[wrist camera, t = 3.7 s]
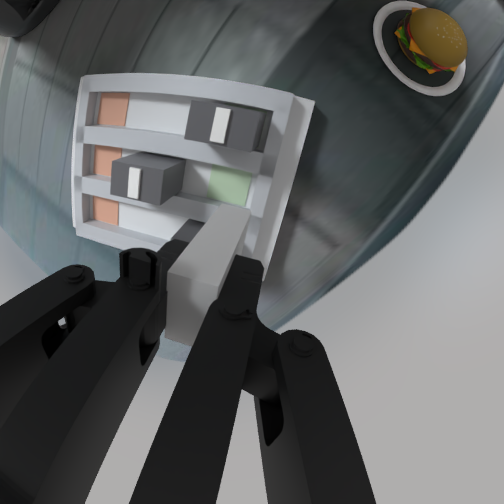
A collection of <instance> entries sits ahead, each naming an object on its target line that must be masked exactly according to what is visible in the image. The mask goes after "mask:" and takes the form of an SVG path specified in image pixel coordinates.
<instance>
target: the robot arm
mask: <svg viewBox="0 0 504 504" xmlns="http://www.w3.org/2000/svg"><path fill="white" fill-rule="evenodd" d="M58 1H59V0H0V35H1V36H4V37H20V36H23V35H25V34H26V33H28V32H29V31H31V30H32V29H33V28H34V27H36V26H37V25H38V24H39V23H40V22H41V21H42V20H43V19H44V18H45V17H46V16H47V15H48V13H49V12H50V11H51V10H52V9H53V8H54V6H55V5H56V4H57V2H58ZM251 212H252V211H250V210H246V209H243V208H239V207H235V206H231V205H227V204H223V203H222V204H221V205H220V206H219V207H218V209H217V210H216V211H215V212H214V214H213V215H212V216H211V217H210V218H209V220H208V221H207V222H206V223H205V225H204V226H203V227H202V228H201V229H200V231H199V232H198V233H197V234H196V236H195V237H194V238H193V240H192V241H191V242H190V243H189V242H186V241H182V240H178V239H173V240H171V241H169V242H166V243H165V244H164V245H163V246H162V247H161V248H160V250H158V251H157V252H155V251H153V250H150V249H147V248H130V249H126V250H124V251H122V252H121V253H119V258H120V278H119V279H118V280H117V281H116V282H107V281H98V280H95V277H94V272H93V271H92V269H91V268H89V267H87V266H85V265H78V264H77V265H70V266H67V267H65V268H62V269H61V270H59V271H57V272H55V273H54V274H52V275H50V276H48V277H47V278H45V279H43V280H41V281H40V282H38V283H37V284H35V285H33V286H31V287H30V288H28V289H26V290H25V291H23V292H22V293H20V294H18V295H17V296H15V297H14V298H12V299H10V300H9V301H7V302H6V303H4V304H3V305H1V306H0V504H85V501H86V499H87V497H88V494H89V492H90V490H91V487H92V485H93V483H94V480H95V478H96V476H97V474H98V471H99V469H100V467H101V465H102V462H103V460H104V458H105V456H106V453H107V452H108V449H109V447H110V445H111V443H112V441H113V439H114V437H115V435H116V432H117V430H118V428H119V426H120V424H121V422H122V420H123V418H124V416H125V414H126V412H127V409H128V408H129V406H130V404H131V401H132V400H133V398H134V396H135V394H136V392H137V390H138V388H139V386H140V384H141V382H142V380H143V378H144V376H145V374H146V372H147V370H148V368H149V366H150V364H151V362H152V360H153V358H154V356H155V355H156V353H157V351H158V349H159V345H160V335H161V333H162V332H163V330H164V328H165V338H168V339H171V340H174V341H177V342H180V343H183V344H186V345H189V346H192V348H191V351H190V353H189V355H188V358H187V360H186V362H185V365H184V367H183V370H182V372H181V375H180V377H179V379H178V382H177V384H176V386H175V389H174V391H173V394H172V396H171V399H170V401H169V403H168V406H167V408H166V411H165V413H164V416H163V418H162V421H161V423H160V426H159V428H158V431H157V433H156V435H155V438H154V441H153V443H152V445H151V448H150V451H149V453H148V456H147V458H146V461H145V463H144V466H143V469H142V471H141V474H140V476H139V479H138V481H137V484H136V486H135V489H134V492H133V494H132V497H131V500H130V502H129V504H216V500H217V496H218V492H219V488H220V483H221V479H222V475H223V471H224V466H225V462H226V457H227V453H228V449H229V444H230V440H231V435H232V430H233V426H234V422H235V417H236V413H237V408H238V403H239V398H240V394H241V390H242V389H243V390H245V391H247V392H248V393H250V394H252V395H254V402H255V410H256V419H257V426H258V434H259V442H260V449H261V457H262V464H263V471H264V478H265V486H266V493H267V500H268V504H376V501H375V498H374V495H373V491H372V488H371V484H370V481H369V478H368V475H367V471H366V468H365V465H364V462H363V459H362V455H361V452H360V449H359V446H358V443H357V440H356V437H355V434H354V431H353V428H352V425H351V422H350V419H349V416H348V413H347V410H346V407H345V404H344V402H343V399H342V396H341V393H340V390H339V387H338V385H337V382H336V379H335V376H334V374H333V371H332V368H331V365H330V362H329V360H328V357H327V354H326V352H325V349H324V347H323V345H322V343H321V342H320V340H318V339H317V338H316V337H315V336H314V335H312V334H310V333H308V332H306V331H302V330H297V329H296V330H288V331H286V332H284V333H282V334H281V335H280V334H278V333H276V332H274V331H272V330H270V329H269V328H267V327H266V326H265V325H264V324H262V323H261V321H260V320H259V318H258V316H257V313H256V309H257V304H258V299H259V294H260V289H261V283H262V278H263V273H264V267H263V265H262V263H261V261H259V260H256V259H252V258H248V257H244V256H241V254H242V249H243V245H244V241H245V237H246V233H247V229H248V224H249V220H250V216H251ZM63 317H64V318H65V322H66V324H64V325H61V326H60V325H59V324H58V321H59V320H60V319H62V318H63Z"/></svg>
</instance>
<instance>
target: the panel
mask: <svg viewBox="0 0 504 504" xmlns="http://www.w3.org/2000/svg"><path fill="white" fill-rule="evenodd" d="M191 100H196V101H203V102H210V103H216V104H222V105H228V106H234V107H239V108H244V109H249V110H254V111H258V112H262V113H265V114H266V117H265V121H264V126H263V130H262V134H261V138H260V142H259V146H258V147H257V148H256V149H254V150H253V151H252V152H251V153H250V152H246V151H241V150H237V149H232V148H228V147H223V146H218V145H213V144H208V143H202V142H197V141H191V140H186V139H184V136H185V131H186V125H187V120H188V115H189V110H190V105H191ZM314 104H315V101H312V100H309V99H305V98H301V97H298V96H294V94H293V93H289V92H285V91H281V90H276V89H272V88H267V87H263V86H258V85H253V84H247V83H242V82H236V81H230V80H223V79H216V78H208V77H199V76H188V75H176V74H157V73H114V74H95V75H84V77H81V80H80V85H79V91H78V98H77V105H76V113H75V122H74V133H73V147H72V215H73V227H76V235H78V236H82V237H85V238H88V239H91V240H94V241H97V242H100V243H103V244H106V245H109V246H112V247H116V248H119V249H122V250H126V249H130V248H147V249H150V250H153V251H155V252H157V251H158V250H160V248H161V247H162V246H163V245H164V244H165V243H166V242H169V241H171V238H172V237H173V235H174V234H175V233H176V232H177V231H178V230H179V229H180V228H181V227H182V226H183V225H184V223H185V222H186V221H187V220H188V219H193V220H197V221H201V222H205V223H206V222H207V221H208V220H209V218H210V217H211V216H212V215H213V214H214V212H215V211H216V210H217V209H218V207H219V206H220V205H221V204H222V203H223V204H227V205H231V206H235V207H239V208H243V209H246V210H250V211H252V212H251V216H250V220H249V224H248V229H247V233H246V237H245V241H244V245H243V249H242V254H241V256H244V257H248V258H252V259H256V260H259V261H261V263H262V265H263V267H264V273H263V278H262V281H264V279H265V276H266V273H267V269H268V266H269V263H270V260H271V256H272V253H273V249H274V246H275V243H276V239H277V236H278V233H279V229H280V226H281V222H282V219H283V216H284V212H285V209H286V205H287V202H288V198H289V195H290V191H291V188H292V184H293V181H294V177H295V174H296V170H297V166H298V163H299V159H300V156H301V152H302V148H303V145H304V141H305V137H306V134H307V130H308V126H309V123H310V119H311V115H312V111H313V108H314ZM138 152H145V153H151V154H157V155H163V156H169V157H174V158H180V159H185V160H186V165H185V171H184V178H183V185H182V190H181V191H179V192H178V193H177V194H175V195H174V196H173V197H171V198H170V199H168V200H167V201H166V202H164V203H163V204H162V205H160V206H158V205H154V204H149V203H145V202H141V201H137V200H132V199H128V198H124V197H119V196H115V195H110V186H111V168H112V161H113V160H116V159H119V158H122V157H125V156H128V155H132V154H135V153H138Z"/></svg>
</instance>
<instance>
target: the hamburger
mask: <svg viewBox="0 0 504 504" xmlns="http://www.w3.org/2000/svg"><path fill="white" fill-rule="evenodd" d="M398 10H412V12H411V13H410V14H409V13H406V17H405V18H403V19H402V20H400V22H399V24H398V29H397V31H396V32H395V33H394V34H396V35H397V37H398V42H399V45H400V47H401V49H402V51H403V52H404V54H405V55H406V56H407V57H408V59H409V60H410V61H412V62H413V63H414V64H416V65H417V66H419V67H420V68H422V69H426V70H427V71H428V73H429V74H432V73H434V72H438V71H442V70H443V71H453V72H455V73H454V75H453V77H452V78H451V80H450V81H449V82H447V83H446V84H445V85H442V86H439V87H428V86H424V85H421V84H418V83H416V82H414V81H412V80H411V79H409V78H408V77H407V76H405V75H404V74H403V73H402V72H401V71H400V70H399V69H398V68H397V67H396V66H395V65H394V63H393V62H392V61H391V59H390V58H389V56H388V54H387V52H386V50H385V48H384V45H383V41H382V26H383V23H384V21H385V19H386V17H387V16H388V15H389V14H391V13H393V12H395V11H398ZM373 36H374V40H375V45H376V47H377V49H378V52H379V54H380V56H381V58H382V59H383V61H384V63H385V64H386V65H387V67H388V68H389V69H390V70H391V72H392V73H393V74H394V75H395V76H396V77H397V78H398V79H399V80H400V81H402V82H403V83H404V84H406V85H407V86H408V87H410V88H412V89H414V90H416V91H418V92H420V93H423V94H426V95H430V96H444V95H447V94H450V93H452V92H453V91H455V90H456V89H457V88H458V87H459V85H460V84H461V83H462V80H463V78H464V75H465V69H466V64H465V58H466V56H467V51H468V47H467V41H466V37H465V35H464V33H463V31H462V29H461V27H460V26H459V25H458V24H457V22H456V21H455V20H454V19H453V18H451V17H450V16H449V15H447V14H446V13H444V12H442V11H440V10H437V9H433V8H427V7H425V6H423V5H421V4H418V3H415V2H410V1H395V2H390V3H388V4H386V5H384V6H383V7H382V8H381V9H380V10H379V11H378V13H377V15H376V16H375V19H374V23H373Z"/></svg>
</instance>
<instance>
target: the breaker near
mask: <svg viewBox="0 0 504 504" xmlns="http://www.w3.org/2000/svg"><path fill="white" fill-rule="evenodd" d="M265 117H266V114H265V113H262V112H258V111H254V110H249V109H244V108H239V107H234V106H228V105H222V104H216V103H210V102H203V101H196V100H191V105H190V110H189V115H188V120H187V125H186V131H185V136H184V139H186V140H191V141H197V142H202V143H208V144H213V145H218V146H223V147H228V148H232V149H237V150H241V151H246V152H250V153H251V152H252V151H253V150H254V149H256V148H257V147H258V146H259V142H260V138H261V134H262V130H263V126H264V121H265Z"/></svg>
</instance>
